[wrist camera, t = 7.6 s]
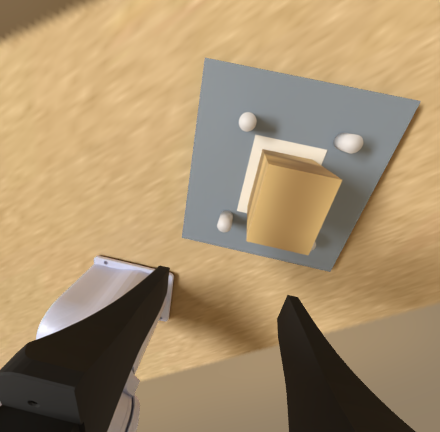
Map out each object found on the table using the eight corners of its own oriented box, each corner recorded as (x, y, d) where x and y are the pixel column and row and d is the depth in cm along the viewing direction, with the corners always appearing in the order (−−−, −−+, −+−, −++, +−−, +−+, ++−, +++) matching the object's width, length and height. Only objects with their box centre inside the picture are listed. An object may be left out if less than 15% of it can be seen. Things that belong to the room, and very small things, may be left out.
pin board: (184, 232, 22) (175, 248, 20) (207, 61, 16) (198, 49, 13) (326, 265, 22) (337, 286, 19) (410, 102, 15) (445, 99, 13)
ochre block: (247, 206, 19) (246, 241, 14) (262, 148, 17) (268, 163, 12) (291, 216, 19) (308, 255, 14) (312, 159, 17) (342, 180, 11)
